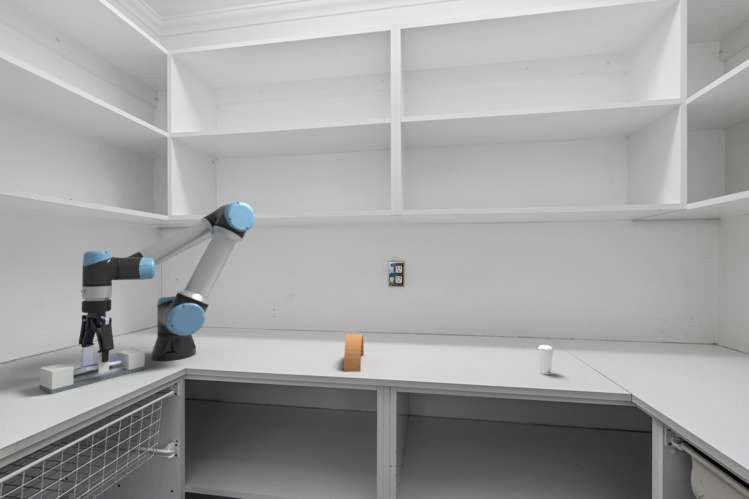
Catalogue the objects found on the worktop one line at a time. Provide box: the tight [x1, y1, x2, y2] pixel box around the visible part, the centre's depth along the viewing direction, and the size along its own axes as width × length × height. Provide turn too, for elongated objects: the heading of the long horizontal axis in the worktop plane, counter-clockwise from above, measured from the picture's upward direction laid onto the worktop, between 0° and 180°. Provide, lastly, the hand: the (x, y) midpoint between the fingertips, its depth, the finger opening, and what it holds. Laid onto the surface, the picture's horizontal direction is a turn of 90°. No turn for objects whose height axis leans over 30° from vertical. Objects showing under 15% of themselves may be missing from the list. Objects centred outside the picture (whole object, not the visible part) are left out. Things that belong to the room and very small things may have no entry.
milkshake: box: [537, 344, 555, 376], centre depth 118 cm, size 4×5×10 cm
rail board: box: [39, 348, 146, 395], centre depth 114 cm, size 25×8×6 cm, turn 151°
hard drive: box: [73, 359, 123, 376], centre depth 114 cm, size 2×8×12 cm
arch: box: [343, 334, 365, 372], centre depth 131 cm, size 6×20×10 cm, turn 178°
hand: (95, 369), depth 114 cm, fingers open, 10 cm apart
